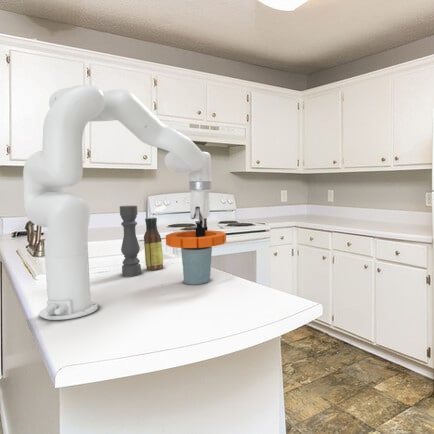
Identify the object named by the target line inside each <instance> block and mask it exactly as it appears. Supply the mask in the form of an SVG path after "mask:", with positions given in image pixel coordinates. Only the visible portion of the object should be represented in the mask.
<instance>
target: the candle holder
mask: <svg viewBox="0 0 434 434" xmlns="http://www.w3.org/2000/svg"><path fill="white" fill-rule="evenodd" d="M119 216H120V218H121V220H122V222H121V223H120V225H121V226H122V227H123V238H122V243H121V247H120V251H121V254H122V255H123V257H124V259H123V260H122V265H121V275H122V277H126V278H127V277H128V278H129V277H137V276H140V275H142V265H141V263H140V259H139V258H138V255H139V252H140V250H141V247H140V244H139V241H138V236H137V234H136V233H137V231H136V226H137V225H138V222H137V221H136V218H137V217H138V205H120V206H119Z"/></svg>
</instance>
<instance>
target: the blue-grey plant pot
mask: <svg viewBox="0 0 434 434" xmlns="http://www.w3.org/2000/svg"><path fill="white" fill-rule="evenodd" d="M180 252H181V263H182V273H183V283H184V284H186V285H203V284H207V283H209V282H210V281H211V271H212V270H211V269H212V267H211V266H212V253H213V246H212V247H203V248H198V247H197V248H180Z"/></svg>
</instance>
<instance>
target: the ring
mask: <svg viewBox="0 0 434 434" xmlns="http://www.w3.org/2000/svg"><path fill="white" fill-rule="evenodd" d="M225 243H227V233H226V232H225V231H221V230H211V229H210V230H209V229H207V230H205V237H196V229H194V230H183V231H176V232H170V233H168V234H166V235H165V245H166V246H167V247H169V248H176V249H181V248H197V247H198V248H203V247H212V248H213V247H217V246H221V245H224V244H225Z"/></svg>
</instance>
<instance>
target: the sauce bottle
mask: <svg viewBox="0 0 434 434" xmlns="http://www.w3.org/2000/svg"><path fill="white" fill-rule="evenodd" d="M144 222H145V233H144V235H143V248H144V258H145V259H144V260H145V266H146V267H145V268H146V270H148V271H156V270H157V271H158V270H161V269H163V268H164V255H163V245H162V244H163V243H162V236H161V234H160V233H159V231H158V224H157V222H158V218H157V217H154V216H153V217H152V216H151V217H145V219H144Z"/></svg>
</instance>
